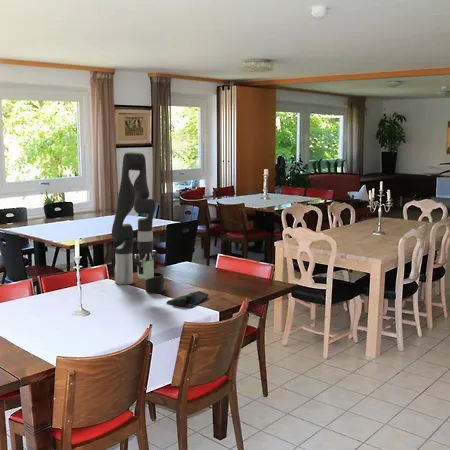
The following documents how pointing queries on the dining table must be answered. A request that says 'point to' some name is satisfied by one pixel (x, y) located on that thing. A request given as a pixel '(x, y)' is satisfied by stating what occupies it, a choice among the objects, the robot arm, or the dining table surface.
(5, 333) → the dining table surface
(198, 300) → the dark slate chunk
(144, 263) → the pale green block
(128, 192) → the robot arm
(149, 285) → the mug
